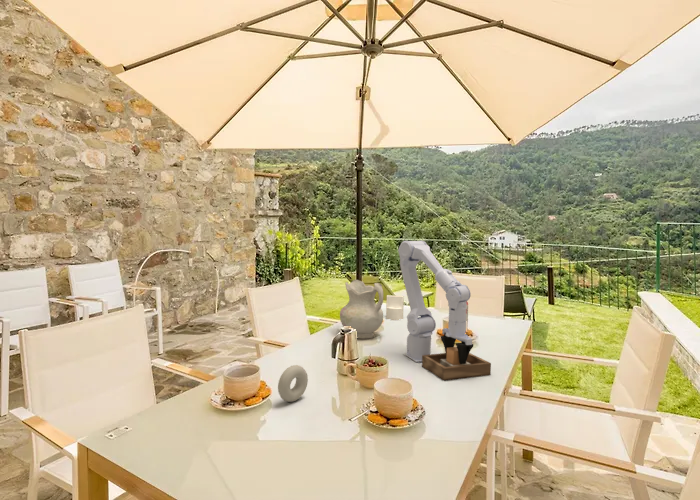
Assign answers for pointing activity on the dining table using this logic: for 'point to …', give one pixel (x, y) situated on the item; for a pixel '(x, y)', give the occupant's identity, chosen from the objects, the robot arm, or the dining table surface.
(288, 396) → the donut
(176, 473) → the dining table surface
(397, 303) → the base with upright slab
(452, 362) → the plug
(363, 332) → the ceramic pitcher
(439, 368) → the box
